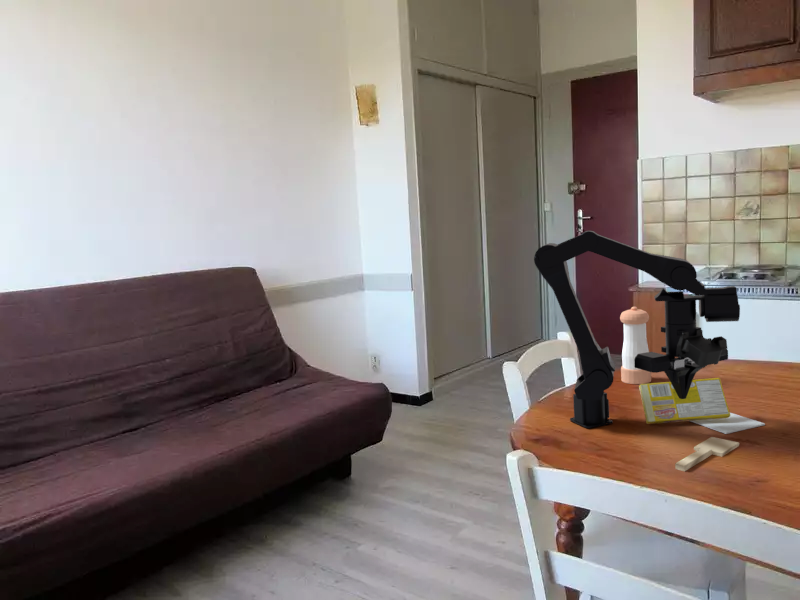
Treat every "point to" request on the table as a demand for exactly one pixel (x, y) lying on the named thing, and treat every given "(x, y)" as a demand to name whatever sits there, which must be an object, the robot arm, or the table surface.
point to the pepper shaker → (634, 345)
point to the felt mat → (729, 423)
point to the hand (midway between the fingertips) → (682, 398)
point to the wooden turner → (706, 452)
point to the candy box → (684, 402)
